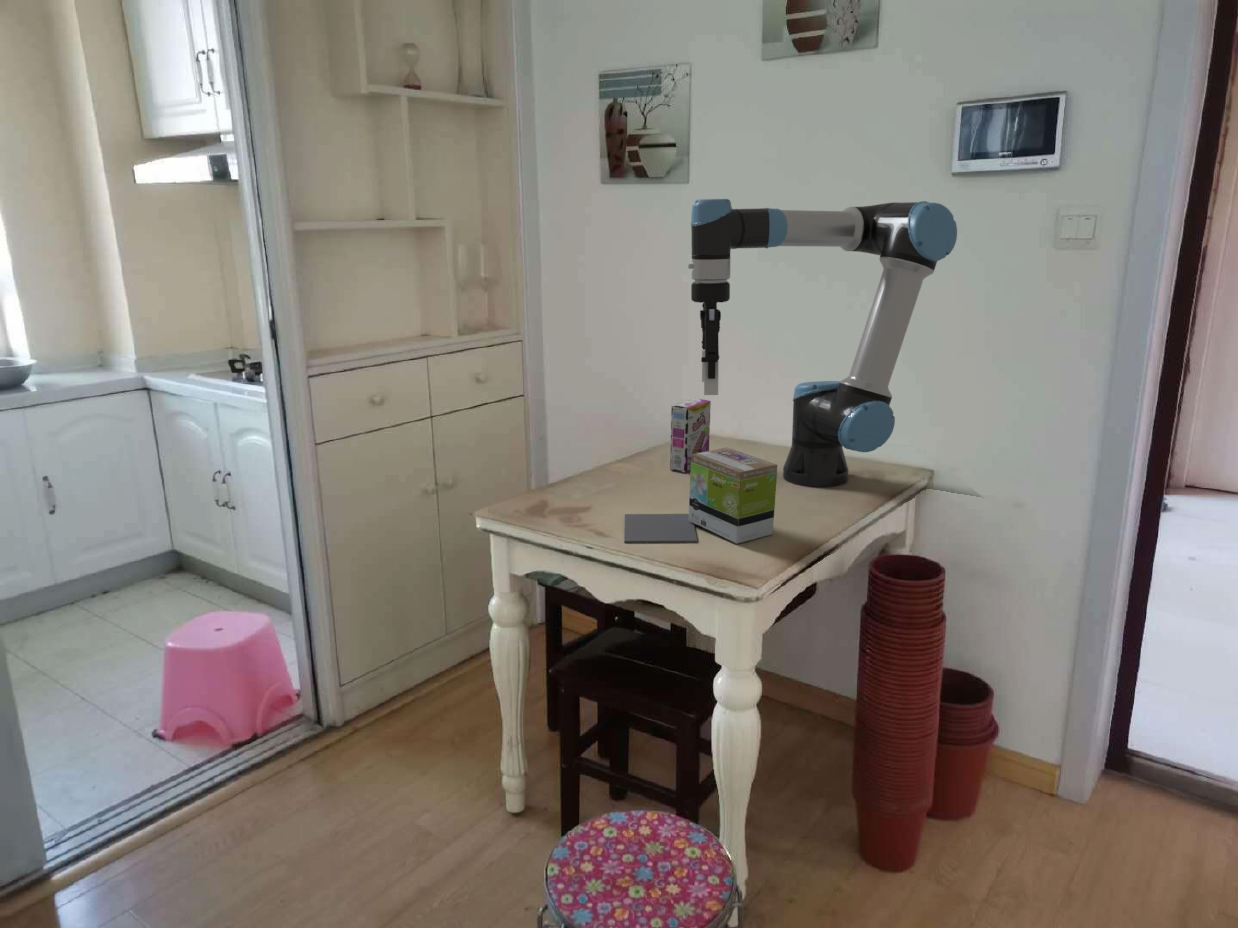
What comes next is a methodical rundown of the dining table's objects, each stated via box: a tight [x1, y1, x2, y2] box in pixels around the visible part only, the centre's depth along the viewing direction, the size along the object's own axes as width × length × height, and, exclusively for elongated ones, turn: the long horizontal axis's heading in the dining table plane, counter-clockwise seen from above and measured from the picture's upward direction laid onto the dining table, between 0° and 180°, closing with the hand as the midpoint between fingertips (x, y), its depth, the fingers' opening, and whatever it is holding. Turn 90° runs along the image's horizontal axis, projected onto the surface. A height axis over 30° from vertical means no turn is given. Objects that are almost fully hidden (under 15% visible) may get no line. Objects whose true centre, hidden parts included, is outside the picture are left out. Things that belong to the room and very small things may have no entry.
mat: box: [623, 513, 698, 544], centre depth 183 cm, size 14×16×1 cm
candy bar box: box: [669, 398, 712, 474], centre depth 224 cm, size 11×5×16 cm, turn 144°
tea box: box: [688, 446, 778, 545], centre depth 180 cm, size 15×10×15 cm, turn 35°
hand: (709, 388), depth 184 cm, fingers open, 13 cm apart
